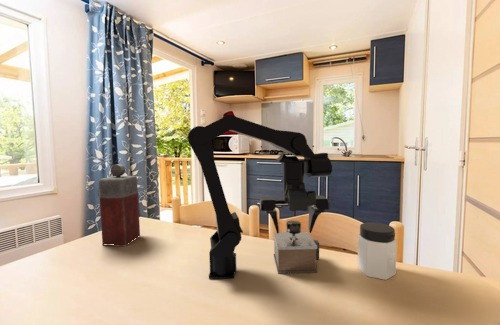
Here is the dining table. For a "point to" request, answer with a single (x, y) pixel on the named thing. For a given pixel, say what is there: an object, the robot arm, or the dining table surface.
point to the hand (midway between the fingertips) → (293, 232)
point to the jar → (377, 250)
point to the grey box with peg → (295, 253)
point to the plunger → (293, 228)
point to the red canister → (119, 207)
